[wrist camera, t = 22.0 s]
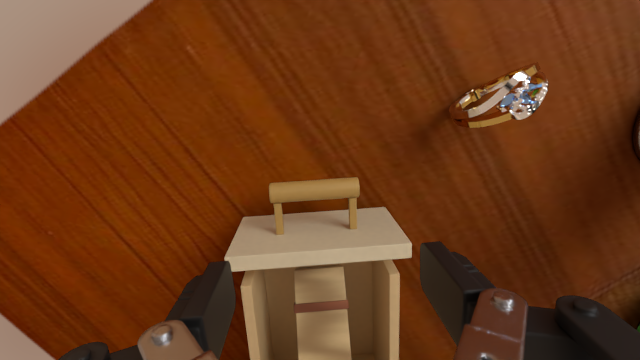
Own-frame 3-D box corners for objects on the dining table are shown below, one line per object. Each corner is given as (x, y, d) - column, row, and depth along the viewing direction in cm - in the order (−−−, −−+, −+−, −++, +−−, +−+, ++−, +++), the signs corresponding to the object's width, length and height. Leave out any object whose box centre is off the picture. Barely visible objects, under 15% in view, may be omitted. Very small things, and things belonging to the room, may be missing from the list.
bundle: (352, 403, 29) (340, 264, 31) (359, 430, 25) (345, 266, 27) (302, 407, 29) (294, 267, 31) (300, 436, 24) (291, 270, 27)
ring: (442, 129, 31) (490, 141, 23) (429, 98, 30) (473, 100, 22) (510, 91, 30) (583, 91, 22) (498, 59, 29) (569, 47, 22)
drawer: (237, 172, 30) (215, 200, 22) (384, 163, 30) (413, 186, 23) (261, 360, 35) (249, 434, 27) (385, 349, 36) (408, 419, 28)
